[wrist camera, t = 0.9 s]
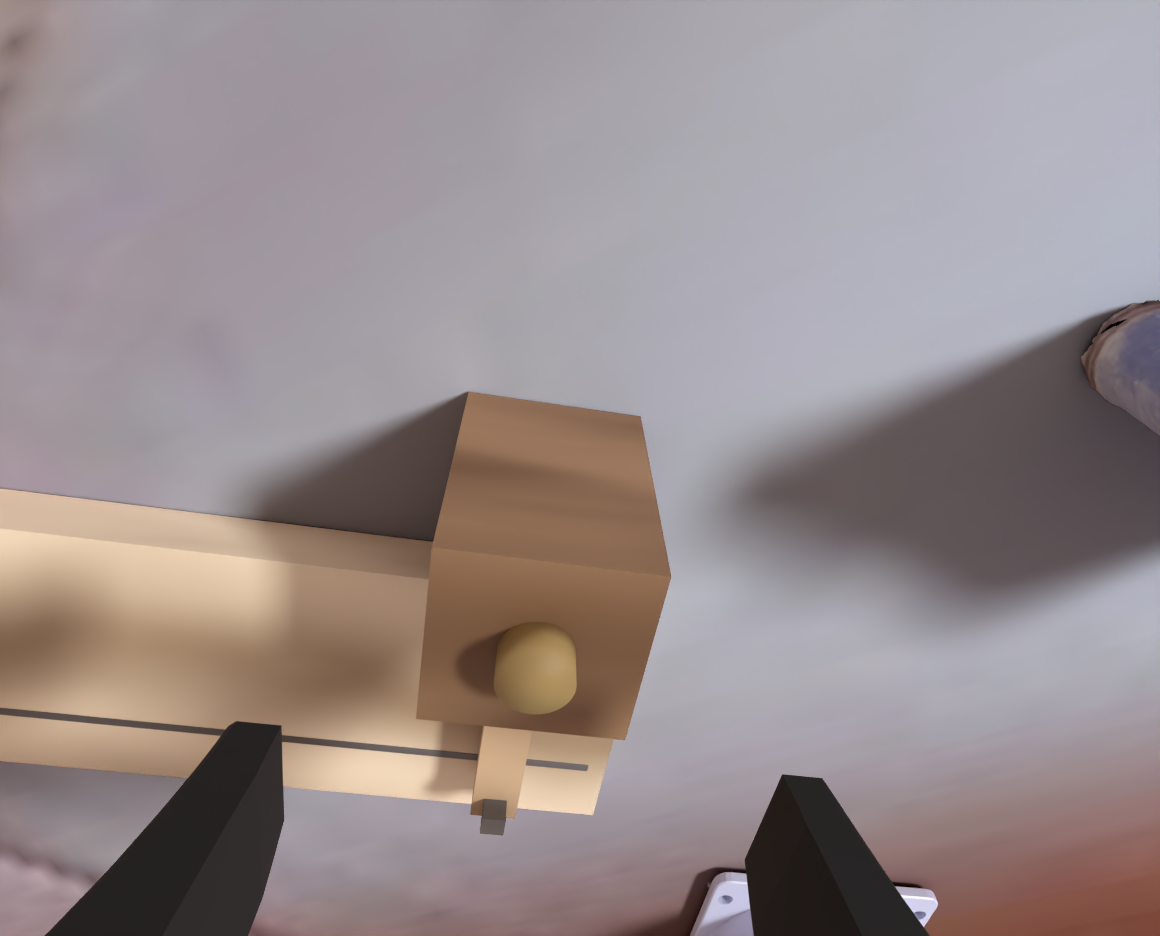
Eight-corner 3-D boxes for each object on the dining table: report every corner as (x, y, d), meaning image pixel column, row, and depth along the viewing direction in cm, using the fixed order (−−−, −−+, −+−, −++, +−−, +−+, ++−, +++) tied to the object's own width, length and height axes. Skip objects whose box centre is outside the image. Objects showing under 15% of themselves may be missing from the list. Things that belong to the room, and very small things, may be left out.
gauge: (566, 740, 24) (567, 979, 18) (432, 726, 24) (389, 966, 18) (640, 416, 19) (676, 608, 13) (468, 391, 18) (424, 578, 12)
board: (590, 772, 25) (592, 815, 23) (-27, 712, 23) (-63, 756, 22) (644, 567, 21) (650, 606, 20) (-96, 476, 19) (-146, 511, 18)
